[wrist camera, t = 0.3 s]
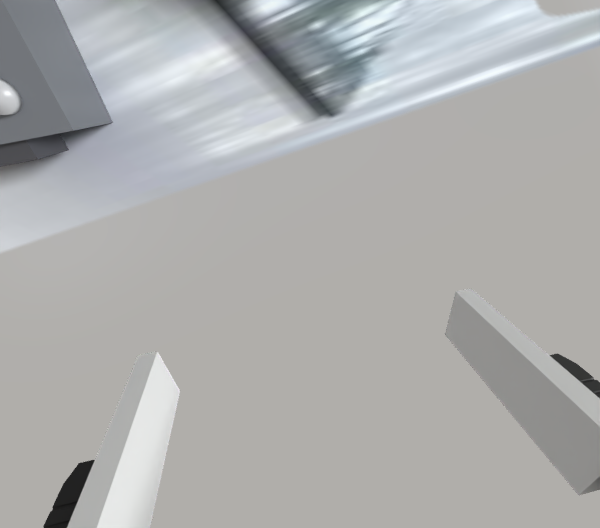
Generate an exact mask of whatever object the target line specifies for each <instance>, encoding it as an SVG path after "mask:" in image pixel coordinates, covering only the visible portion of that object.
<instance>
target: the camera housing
mask: <svg viewBox="0 0 600 528" xmlns="http://www.w3.org/2000/svg"><path fill="white" fill-rule="evenodd" d="M109 123H113V122H112V120H111V118H110V116H109V113H108V111H107V109H106V107H105V105H104V103H103V101H102V99H101V96H100V94H99V92H98V90H97V88H96V86H95V84H94V82H93V80H92V77H91V75H90V73H89V71H88V69H87V67H86V65H85V63H84V61H83V58H82V56H81V54H80V52H79V50H78V48H77V46H76V44H75V41H74V39H73V37H72V35H71V33H70V31H69V29H68V27H67V25H66V22H65V20H64V18H63V16H62V14H61V12H60V10H59V8H58V6H57V3H56V1H55V0H0V167H1V166H6V165H11V164H17V163H22V162H27V161H32V160H37V159H41V158H44V157H47V156H50V155H54V154H57V153H60V152H63V151H67V150H69V149H68V148H67V146H66V144H65V142H64V141H63V139H62V137H61V135H60V134H59V133H64V132H69V131H74V130H79V129H84V128H89V127H94V126H99V125H104V124H109Z"/></svg>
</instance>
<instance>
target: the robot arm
mask: <svg viewBox="0 0 600 528" xmlns="http://www.w3.org/2000/svg"><path fill="white" fill-rule="evenodd" d="M445 335H446V336H447V338H448V339H449V340H450V341H451V342H452V344H453V345H454V346H455V347H456V348H457V350H458V351H459V352H460V353H461V354H462V356H463V357H464V358H465V359H466V361H467V362H468V363H469V364H470V365H471V366H472V368H473V369H474V370H475V371H476V373H477V374H478V375H479V376H480V377H481V379H482V380H483V381H484V382H485V383H486V385H487V386H488V387H489V388H490V389H491V391H492V392H493V393H494V394H495V395H496V396H497V398H498V399H499V400H500V401H501V402H502V404H503V405H504V406H505V407H506V409H507V410H508V411H509V412H510V413H511V414H512V416H513V417H514V418H515V419H516V421H517V422H518V423H519V424H520V425H521V427H522V428H523V429H524V430H525V431H526V433H527V434H528V435H529V436H530V438H531V439H532V440H533V441H534V442H535V443H536V445H537V446H538V447H539V448H540V450H541V451H542V452H543V453H544V454H545V456H546V457H547V458H548V459H549V460H550V462H551V463H552V464H553V465H554V466H555V468H556V469H557V470H558V471H559V472H560V474H561V475H562V476H563V477H564V478H565V480H566V481H567V482H568V483H569V484H570V485H571V487H572V488H573V489H574V490H575V492H576V493H577V494H578V495H581V494H585V493H589V492H592V491H596V490H600V382H598V381H597V380H594V379H593V377H592V376H591V375H590V374H589V373H587V372H586V371H585V370H584V369H583V368H581V367H580V366H579V365H577V364H576V363H574V362H572V361H571V360H569V359H567V358H565V357H563V356H561V355H559V354H554V355H548V354H547V353H546V352H545V351H544V350H542V349H541V348H540V347H539V346H538V345H537V344H535V343H534V342H533V341H532V340H531V339H530V338H529V337H527V336H526V335H525V334H524V333H523V332H521V331H520V330H519V329H518V328H517V327H516V326H514V325H513V324H512V323H511V322H510V321H509V320H508V319H506V318H505V317H504V316H503V315H502V314H501V313H499V312H498V311H497V310H496V309H495V308H494V307H492V306H491V305H490V304H489V303H488V302H487V301H485V300H484V299H483V298H482V297H481V296H479V295H478V294H477V293H476V292H475V291H474V290H473V289H467V290H462V291H457V292H456V293H455V297H454V301H453V305H452V309H451V313H450V317H449V321H448V325H447V329H446V333H445ZM179 394H180V390H179V388H178V387H177V385H176V383H175V381H174V380H173V378H172V376H171V374H170V373H169V371H168V369H167V367H166V366H165V364H164V362H163V360H162V359H161V357H160V355H159V353H158V352H151V353H147V354H141V355H138V357H137V359H136V362H135V364H134V367H133V369H132V371H131V374H130V376H129V378H128V381H127V383H126V386H125V388H124V391H123V393H122V396H121V398H120V400H119V403H118V405H117V408H116V410H115V413H114V415H113V417H112V420H111V422H110V425H109V427H108V429H107V432H106V434H105V437H104V439H103V442H102V444H101V447H100V449H99V452H98V454H97V456H96V458H95V460H91V461H87V462H83V463H79V464H78V465H77V467H76V468H75V469H74V471H73V472H72V473H71V475H70V476H69V477H68V479H67V480H66V481H65V483H64V484H63V486H62V488H61V490H60V492H59V494H58V497H57V499H56V501H55V503H54V505H53V510H52V511H51V512H50V514H49V516H48V518H47V520H46V522H45V524H44V528H150V524H151V520H152V516H153V511H154V507H155V502H156V498H157V493H158V489H159V484H160V480H161V475H162V470H163V466H164V462H165V457H166V452H167V447H168V443H169V439H170V434H171V430H172V425H173V421H174V416H175V412H176V407H177V402H178V397H179Z"/></svg>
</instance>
